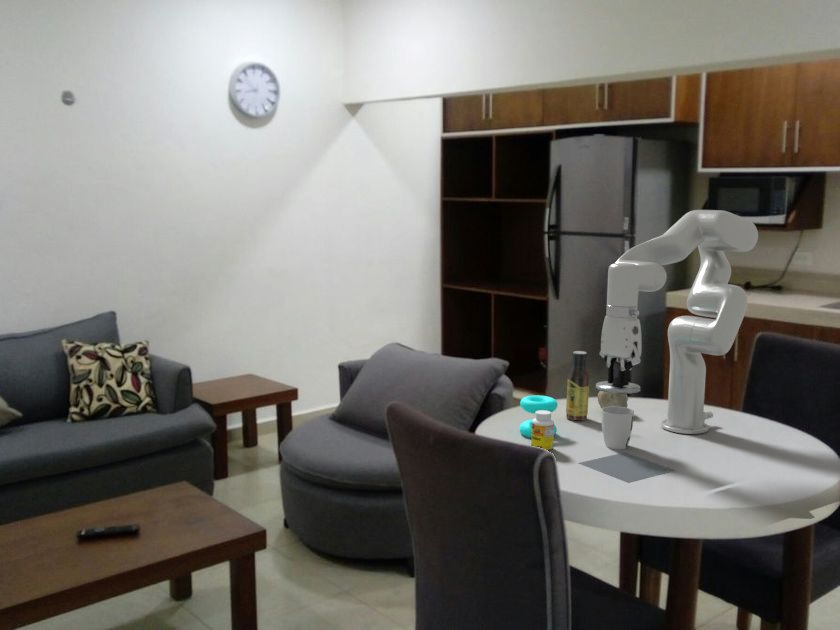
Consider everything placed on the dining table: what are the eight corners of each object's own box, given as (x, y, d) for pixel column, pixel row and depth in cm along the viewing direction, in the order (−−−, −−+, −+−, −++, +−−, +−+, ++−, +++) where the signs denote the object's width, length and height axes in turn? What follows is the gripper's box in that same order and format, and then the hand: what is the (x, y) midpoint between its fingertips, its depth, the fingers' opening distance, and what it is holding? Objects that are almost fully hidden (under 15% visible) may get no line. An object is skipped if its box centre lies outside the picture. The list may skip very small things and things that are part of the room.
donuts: (520, 402, 217) (519, 393, 227) (519, 439, 219) (519, 428, 229) (558, 403, 216) (556, 394, 226) (557, 440, 218) (555, 430, 228)
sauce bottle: (563, 416, 242) (565, 349, 239) (583, 415, 242) (586, 349, 240) (569, 422, 235) (571, 354, 232) (590, 421, 236) (593, 353, 233)
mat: (625, 454, 206) (625, 452, 206) (676, 472, 193) (676, 470, 193) (578, 465, 197) (578, 463, 197) (628, 485, 184) (628, 482, 184)
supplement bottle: (526, 449, 210) (527, 410, 208) (545, 447, 212) (546, 408, 210) (538, 455, 205) (540, 416, 203) (557, 453, 207) (558, 413, 205)
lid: (616, 382, 216) (617, 356, 216) (649, 390, 207) (650, 364, 206) (586, 386, 210) (587, 360, 209) (619, 395, 201) (620, 368, 200)
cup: (635, 453, 207) (637, 414, 206) (603, 452, 207) (604, 414, 206) (628, 443, 215) (629, 406, 214) (597, 443, 215) (598, 406, 214)
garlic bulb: (625, 423, 244) (636, 394, 240) (598, 419, 243) (608, 390, 238) (616, 406, 252) (626, 378, 248) (590, 402, 251) (600, 374, 247)
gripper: (657, 315, 202) (653, 389, 204) (608, 307, 215) (605, 376, 218) (635, 317, 197) (632, 392, 200) (587, 309, 211) (584, 379, 214)
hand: (618, 383), depth 209 cm, fingers closed on lid, 2 cm apart
